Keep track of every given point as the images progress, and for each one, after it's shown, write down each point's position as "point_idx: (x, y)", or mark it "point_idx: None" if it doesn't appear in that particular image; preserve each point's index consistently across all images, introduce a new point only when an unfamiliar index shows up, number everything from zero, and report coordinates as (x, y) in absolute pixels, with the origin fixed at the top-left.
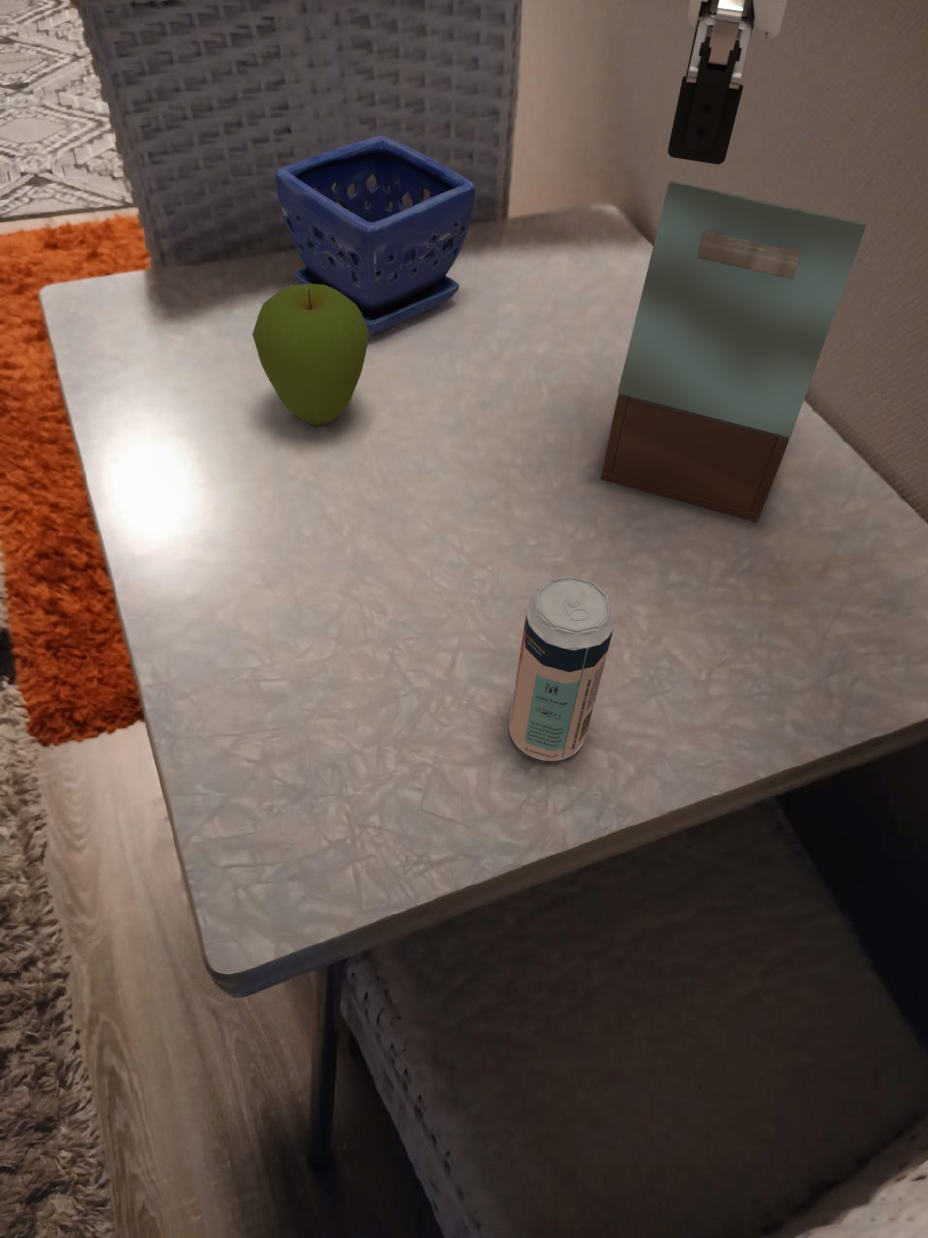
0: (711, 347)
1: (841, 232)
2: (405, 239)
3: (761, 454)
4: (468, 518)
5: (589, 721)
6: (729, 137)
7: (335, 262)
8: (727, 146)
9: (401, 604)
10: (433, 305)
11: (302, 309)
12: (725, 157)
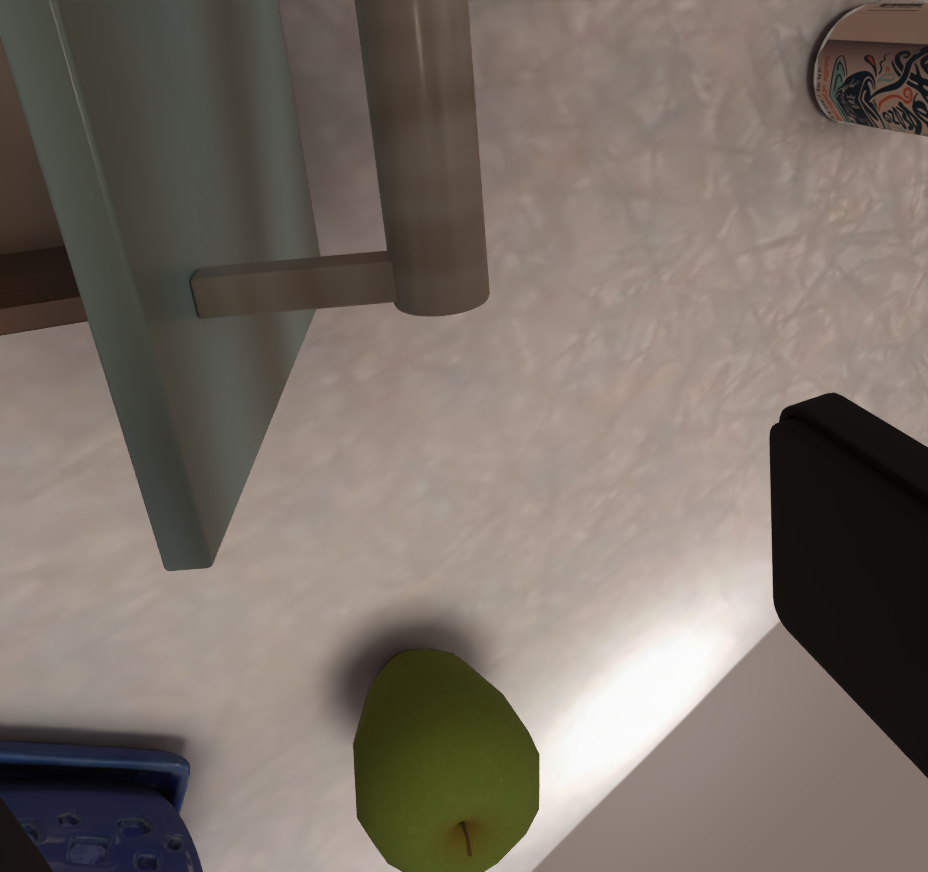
0: (260, 119)
1: None
2: None
3: None
4: (507, 374)
5: (899, 4)
6: (918, 444)
7: None
8: (878, 423)
9: (705, 358)
10: (9, 743)
11: (490, 828)
12: (844, 397)
